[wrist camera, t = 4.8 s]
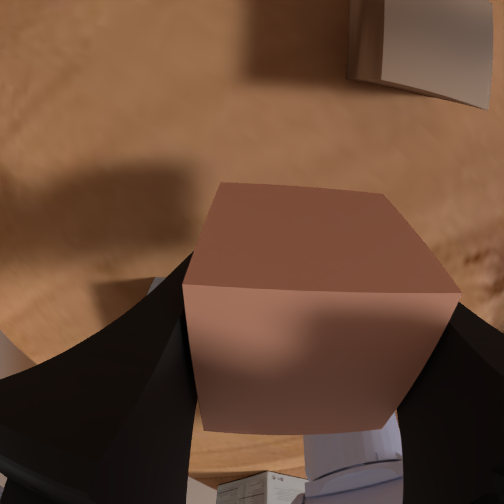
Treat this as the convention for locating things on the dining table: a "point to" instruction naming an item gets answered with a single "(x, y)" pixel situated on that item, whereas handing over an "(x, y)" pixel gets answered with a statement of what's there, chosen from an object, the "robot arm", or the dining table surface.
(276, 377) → the terracotta block
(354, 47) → the walnut block
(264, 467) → the dining table surface
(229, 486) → the supplement box
